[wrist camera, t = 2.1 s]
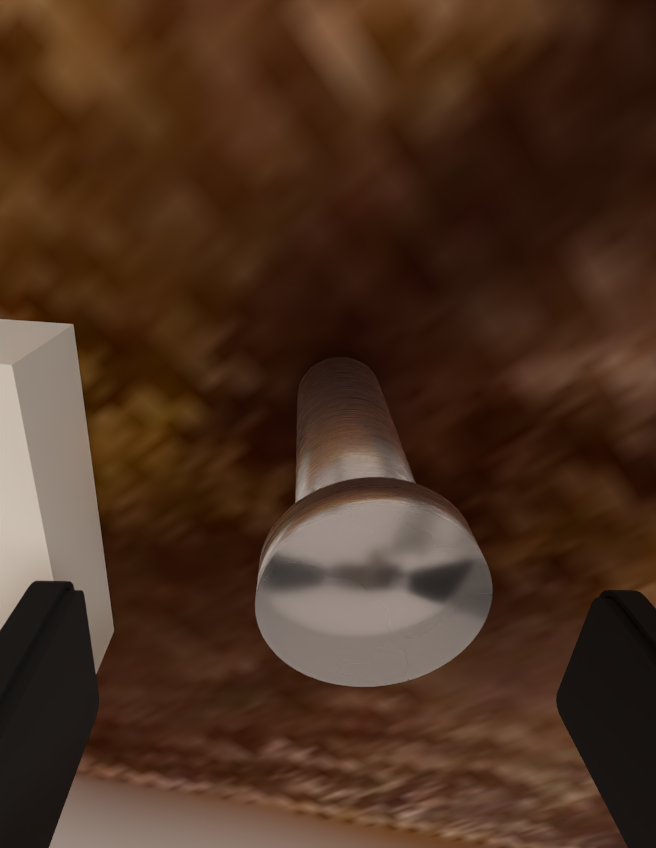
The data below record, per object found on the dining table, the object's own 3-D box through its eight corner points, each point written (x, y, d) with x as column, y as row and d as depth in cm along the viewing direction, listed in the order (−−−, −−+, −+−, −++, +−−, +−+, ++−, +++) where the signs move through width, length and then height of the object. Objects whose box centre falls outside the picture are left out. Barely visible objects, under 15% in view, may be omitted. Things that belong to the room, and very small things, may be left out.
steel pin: (280, 332, 17) (258, 502, 8) (408, 341, 18) (518, 514, 9) (275, 446, 19) (252, 685, 10) (390, 452, 20) (465, 688, 11)
